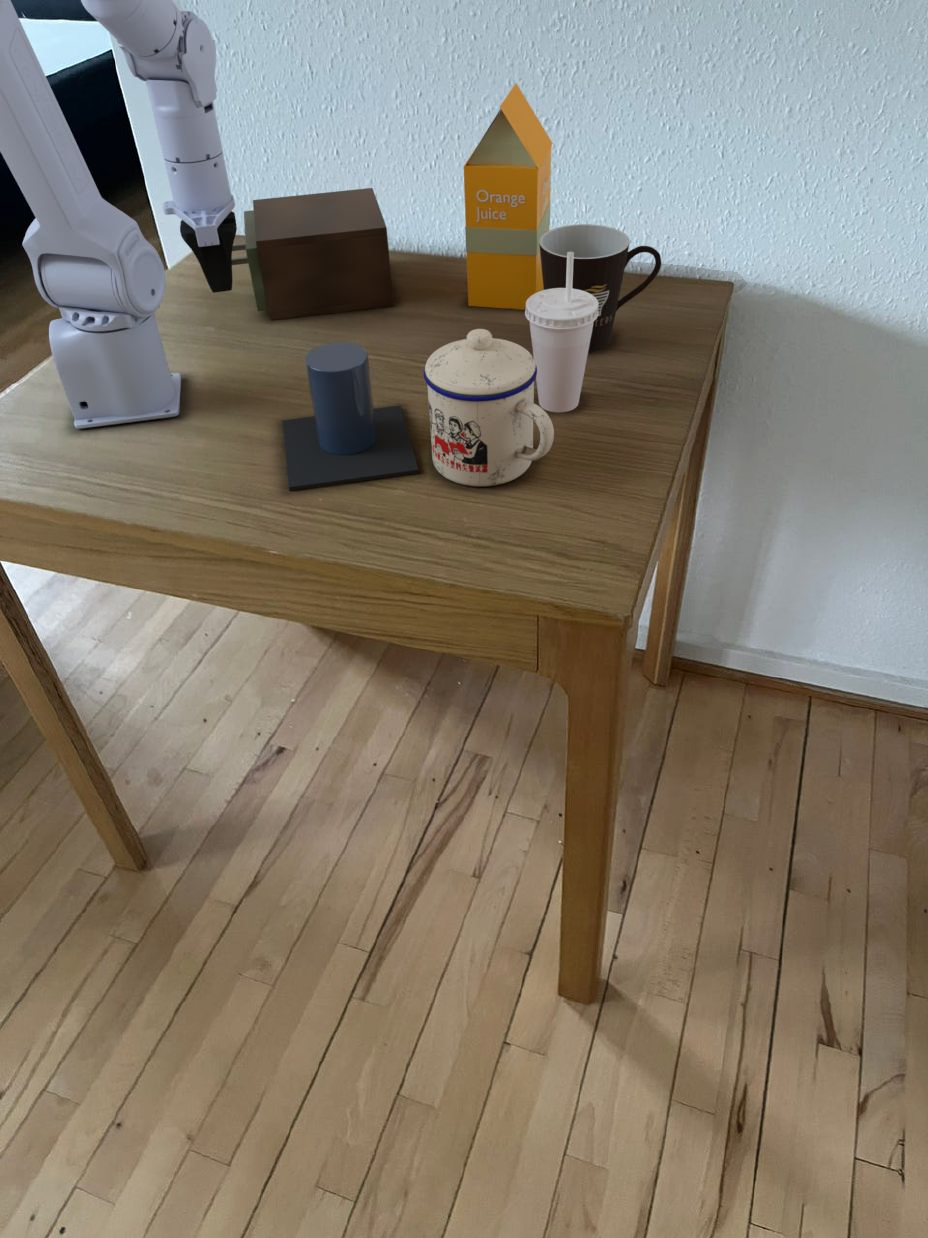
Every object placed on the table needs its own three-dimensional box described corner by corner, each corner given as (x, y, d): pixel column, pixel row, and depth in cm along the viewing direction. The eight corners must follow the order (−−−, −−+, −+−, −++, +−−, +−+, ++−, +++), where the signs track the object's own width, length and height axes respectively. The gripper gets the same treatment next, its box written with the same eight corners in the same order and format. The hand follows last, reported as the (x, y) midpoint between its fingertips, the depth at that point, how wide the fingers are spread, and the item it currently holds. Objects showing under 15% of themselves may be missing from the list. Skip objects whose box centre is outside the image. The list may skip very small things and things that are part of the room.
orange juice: (466, 305, 104) (459, 105, 91) (483, 273, 111) (479, 81, 97) (537, 310, 103) (540, 107, 89) (550, 276, 109) (555, 82, 96)
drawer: (217, 316, 103) (203, 253, 98) (217, 274, 111) (204, 214, 107) (371, 298, 105) (365, 236, 100) (360, 258, 113) (353, 199, 108)
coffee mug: (530, 354, 96) (531, 255, 89) (545, 316, 102) (547, 221, 95) (646, 364, 93) (657, 263, 87) (655, 325, 99) (665, 228, 93)
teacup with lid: (408, 463, 82) (396, 336, 74) (479, 420, 87) (476, 297, 79) (512, 517, 76) (512, 386, 68) (583, 468, 80) (591, 340, 72)
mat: (289, 491, 80) (288, 487, 79) (283, 424, 88) (282, 420, 87) (419, 473, 81) (418, 469, 80) (401, 408, 89) (400, 404, 88)
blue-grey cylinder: (315, 428, 86) (302, 346, 81) (372, 420, 87) (362, 338, 81) (322, 459, 82) (308, 375, 77) (381, 450, 83) (372, 366, 78)
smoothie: (589, 422, 86) (598, 269, 76) (519, 417, 87) (519, 266, 77) (596, 387, 90) (606, 239, 81) (529, 382, 91) (531, 236, 82)
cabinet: (270, 320, 104) (255, 241, 98) (266, 274, 113) (252, 199, 107) (393, 305, 105) (386, 227, 99) (379, 261, 114) (372, 187, 109)
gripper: (152, 136, 98) (183, 267, 107) (150, 182, 87) (184, 322, 96) (222, 129, 99) (246, 259, 108) (227, 173, 88) (254, 313, 97)
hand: (222, 289), depth 102 cm, fingers closed
